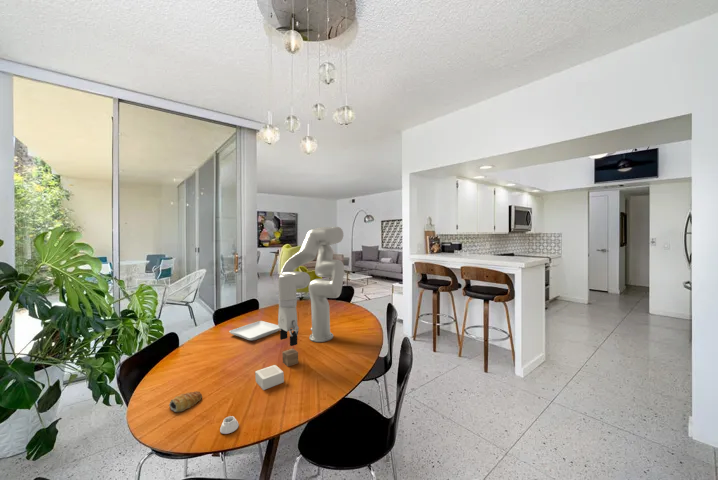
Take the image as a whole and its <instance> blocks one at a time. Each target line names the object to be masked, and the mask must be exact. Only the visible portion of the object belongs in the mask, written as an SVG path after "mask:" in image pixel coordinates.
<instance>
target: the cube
mask: <svg viewBox="0 0 718 480" xmlns="http://www.w3.org/2000/svg"><path fill="white" fill-rule="evenodd" d="M281 354H282V363H283V364H284V366H286V367H291V366H294V365H296V364H297V365H298V364H299V352H298V351H297V350H296V349H294V348H290V349H287V350H284V351H282V353H281Z"/></svg>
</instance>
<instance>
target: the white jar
mask: <svg viewBox="0 0 718 480" xmlns="http://www.w3.org/2000/svg"><path fill="white" fill-rule="evenodd" d="M239 425H240V424H239V422H238V420H237V418H235V416H233V415H232V416H231V415H229V416H226V417H225V418H224V419H223V421H222V423H221V426H220V428H219V432H220V433H221V434H224V435H227V434H230V433H231V434H232V433H233V432H235V431H236V430H237V429H238V428H239Z"/></svg>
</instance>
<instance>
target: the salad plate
mask: <svg viewBox="0 0 718 480" xmlns="http://www.w3.org/2000/svg"><path fill="white" fill-rule="evenodd" d="M278 331H279V332H280V331H281V330H280V327H279V326H278V324H276V323H272V322H267V321H263V320H258V321H256V322H252V323H248V324H246V325H243V326H242V325H241V326H240V327H237V328H234V329H231V330H229V331H228V332H229V334H231V335H234V336H237V337H239V338H242V339H244V340H248V341H256V340H259V339H262V338H265V337H267V336H270V335H271V334H275V333H277V332H278Z"/></svg>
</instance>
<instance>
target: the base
mask: <svg viewBox="0 0 718 480" xmlns="http://www.w3.org/2000/svg"><path fill="white" fill-rule="evenodd" d="M254 375H255V383H256V384H257V385H258V386H259V388H261V390H263V391H265V390H267V389H270V388H273V387H275V386H278V385H280V384H282V383H283V384H284V382H285V376H284V371H283V370H282V369H281V368H280V367H278V366H277V365H276V364H273V365H270V366H267V367H263V368H261V369H258V370H255V372H254Z"/></svg>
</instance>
